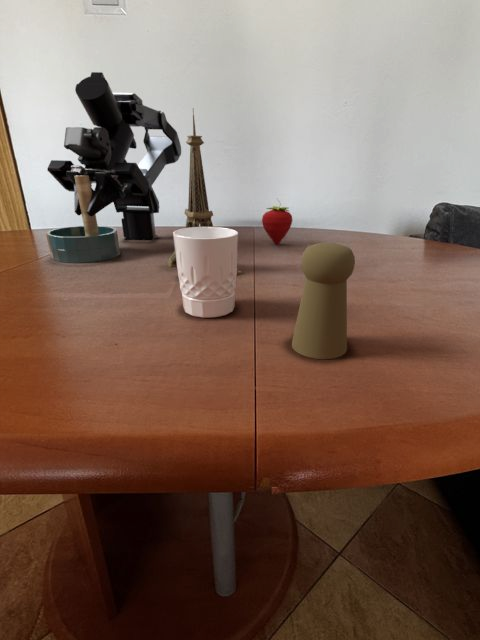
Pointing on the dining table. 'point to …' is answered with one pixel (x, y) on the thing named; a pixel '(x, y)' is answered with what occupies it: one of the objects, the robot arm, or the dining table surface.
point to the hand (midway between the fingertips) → (83, 214)
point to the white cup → (207, 269)
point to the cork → (324, 301)
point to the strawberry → (277, 223)
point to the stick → (86, 204)
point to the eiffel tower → (196, 192)
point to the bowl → (83, 244)
